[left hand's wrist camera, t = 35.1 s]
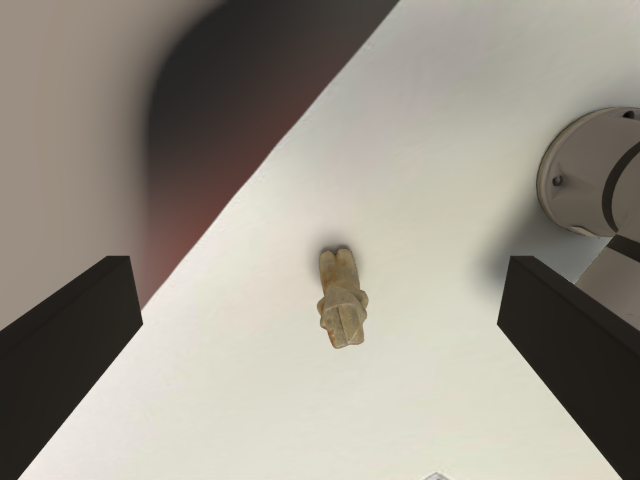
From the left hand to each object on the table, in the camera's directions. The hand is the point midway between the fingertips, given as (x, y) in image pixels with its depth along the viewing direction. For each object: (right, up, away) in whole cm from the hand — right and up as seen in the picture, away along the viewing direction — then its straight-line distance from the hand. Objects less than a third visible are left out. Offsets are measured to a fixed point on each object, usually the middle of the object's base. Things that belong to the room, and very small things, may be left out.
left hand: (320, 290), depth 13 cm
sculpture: (+3, -2, +37) cm, 37 cm away
